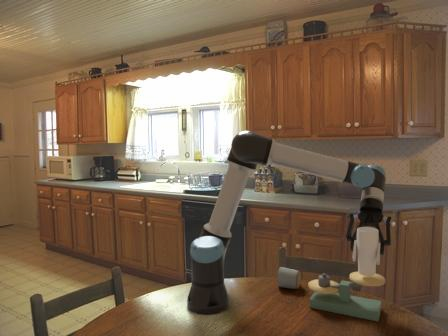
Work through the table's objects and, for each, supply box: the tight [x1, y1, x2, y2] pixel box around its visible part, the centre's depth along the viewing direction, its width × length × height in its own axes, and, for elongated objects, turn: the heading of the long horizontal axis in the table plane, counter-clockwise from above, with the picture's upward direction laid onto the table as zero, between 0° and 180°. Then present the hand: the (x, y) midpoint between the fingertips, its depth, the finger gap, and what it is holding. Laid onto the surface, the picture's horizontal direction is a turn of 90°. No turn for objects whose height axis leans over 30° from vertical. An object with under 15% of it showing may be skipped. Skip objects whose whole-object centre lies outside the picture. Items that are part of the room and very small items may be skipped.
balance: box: [307, 271, 386, 322], centre depth 121 cm, size 25×11×12 cm, turn 62°
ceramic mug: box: [276, 266, 301, 290], centre depth 142 cm, size 11×8×8 cm
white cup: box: [356, 226, 380, 276], centre depth 117 cm, size 7×7×15 cm
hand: (365, 261), depth 114 cm, fingers closed on white cup, 6 cm apart
